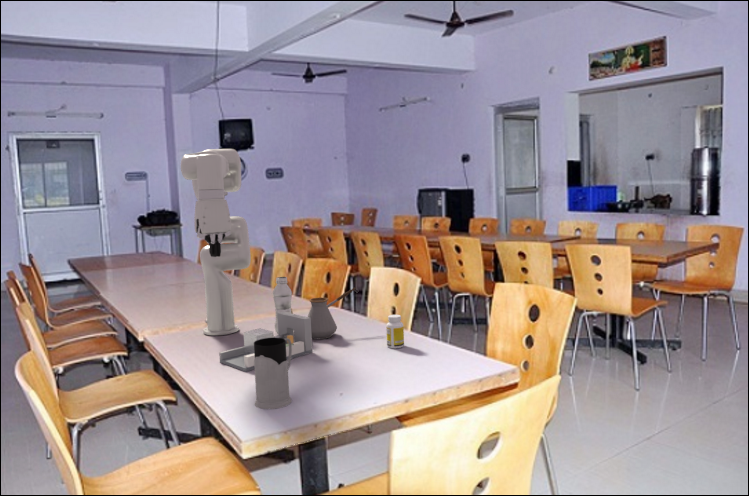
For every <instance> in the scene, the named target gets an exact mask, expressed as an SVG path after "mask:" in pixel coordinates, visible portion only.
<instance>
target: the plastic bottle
mask: <svg viewBox="0 0 749 496" xmlns="http://www.w3.org/2000/svg"><path fill="white" fill-rule="evenodd" d="M275 284H276V286H274V288H273V290H272V296H273V297H272V298H273V302H274V308H275V322H274V331H275V333H276V334H277V335H279V332H278V315H277V313H280V312H287V313H291V308H292V296H293V295H292V293H293V292H292V289H291V288H290V286H289V285H288V277H287V276H277V277H276V278H275ZM293 332H294V329H293Z"/></svg>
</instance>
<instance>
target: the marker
mask: <svg viewBox="0 0 749 496" xmlns="http://www.w3.org/2000/svg"><path fill="white" fill-rule="evenodd" d="M287 338H288V339H290V341H291V343H294V342H293V336H292V335H289V336H287ZM287 343H288V340H287Z"/></svg>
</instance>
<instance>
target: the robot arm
mask: <svg viewBox="0 0 749 496" xmlns="http://www.w3.org/2000/svg"><path fill="white" fill-rule="evenodd" d="M180 171H181V175H182V177H183V178H184V179H185V180H189V181H191V183H192V188H193V192H194V196H195V198H196V201H195V206H194V218H193V219H194V221H193V222H194V232H195V233H196V237H197V239H201V240H202V239H203V240H204V241H205V242H206V243H207V245H205V246H203V247H202V248H201V250H200V252H199V260H200V261H199V262H200V266H201V269H202V274H203V283H204V298H205V311H206V319H205V320H204V323H205V324H207V325H206V327H204V328H203V329H202V331H203V334H204V335H206V336H223V335H231V334H235V333H236V332H238V331H240V326H239V325H237V324H235V312H234V309H235V307H234V295H233V292H234V291H233V283H232V279H230V277H229V276H228V275H227V274H226V273H225V272H226V271H236V270H244V269H247V268H249V267H250V265H251V260H252V259H251V257H252V255H251V247H250V237H249V235H250V234H249V229H248V228H249V227H248V223H247V221H246V219H245V218H244V217H243V216H238V215H237V216H236V215H235V216H233V215H230V208H229V205H228V201H227V199H225V198H226V196H228V195H229V193H234V192H235V193H236V192H239V190H240V189H241V187H242V163H241V157H240V154H239V153H238V151H237V150H236V149H234V148H214V149H213V148H210V149H209V148H208V149H205V150H203V151H198V152H193V153H186V154H184V155H182V158H181V160H180ZM224 271H225V272H224Z"/></svg>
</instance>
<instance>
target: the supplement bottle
mask: <svg viewBox="0 0 749 496" xmlns="http://www.w3.org/2000/svg"><path fill="white" fill-rule="evenodd" d="M387 318H388V322H387V323H386V325H385V326H386V329H385V331H386V345H387V348H389V349H401V348H403V347H404V346H405V330H404V327H405V326H404V323H403V322H402V316H401V315H400V314H390V315H388V316H387Z"/></svg>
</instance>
